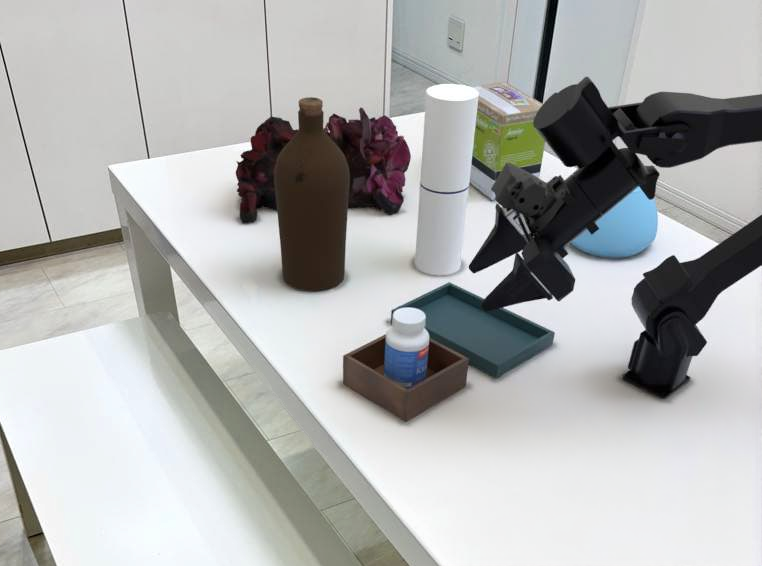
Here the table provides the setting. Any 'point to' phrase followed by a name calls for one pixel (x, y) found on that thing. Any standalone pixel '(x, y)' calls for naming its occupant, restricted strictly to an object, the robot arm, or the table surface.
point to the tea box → (504, 135)
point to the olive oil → (312, 204)
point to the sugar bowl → (622, 228)
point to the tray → (480, 329)
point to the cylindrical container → (445, 177)
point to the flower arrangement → (360, 147)
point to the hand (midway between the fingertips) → (476, 288)
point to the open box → (369, 381)
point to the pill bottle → (407, 348)
